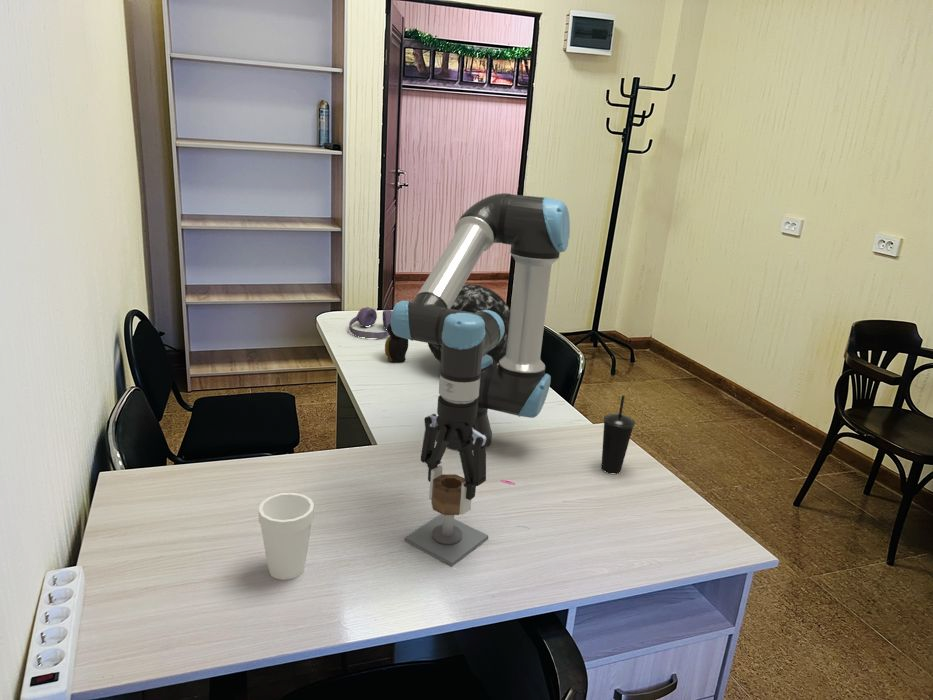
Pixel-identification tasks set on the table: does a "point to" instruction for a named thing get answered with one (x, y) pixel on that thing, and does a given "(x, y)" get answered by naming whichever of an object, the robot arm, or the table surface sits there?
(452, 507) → the brown faceted ring
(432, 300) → the robot arm
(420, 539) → the grey peg stand
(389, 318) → the headphones
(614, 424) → the drinking cup
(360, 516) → the table surface
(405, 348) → the figurine
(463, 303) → the globe
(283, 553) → the foam cup
